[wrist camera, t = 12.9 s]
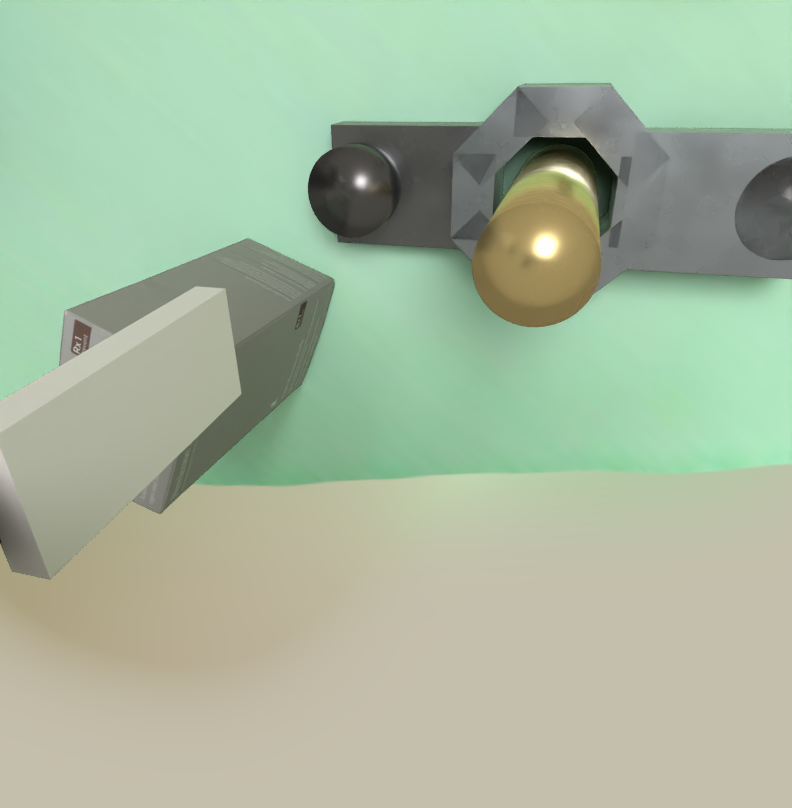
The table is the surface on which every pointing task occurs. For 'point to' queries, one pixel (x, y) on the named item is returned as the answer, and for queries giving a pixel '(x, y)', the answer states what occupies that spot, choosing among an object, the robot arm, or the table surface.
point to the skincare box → (252, 334)
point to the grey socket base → (616, 143)
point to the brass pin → (542, 241)
